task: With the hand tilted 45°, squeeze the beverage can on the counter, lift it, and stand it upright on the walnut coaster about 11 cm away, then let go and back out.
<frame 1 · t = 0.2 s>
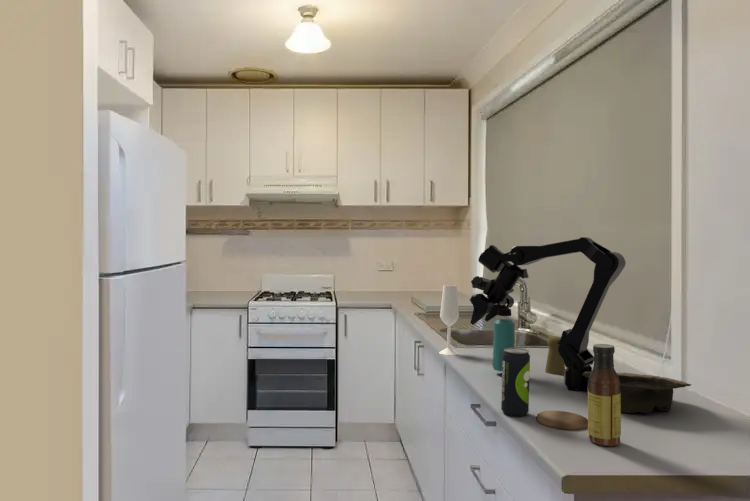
hand: (478, 322, 177), 15 cm above the countertop, tool tilted 35°, fingers open, 9 cm apart
cork: (555, 372, 176), on the countertop
sauce bottle: (603, 443, 116), on the countertop
beverage can: (514, 414, 134), on the countertop
beverage bottle: (503, 374, 172), on the countertop
champagne flute: (448, 353, 202), on the countertop
stone bowl: (632, 405, 143), on the countertop
walnut coaster: (562, 421, 128), on the countertop
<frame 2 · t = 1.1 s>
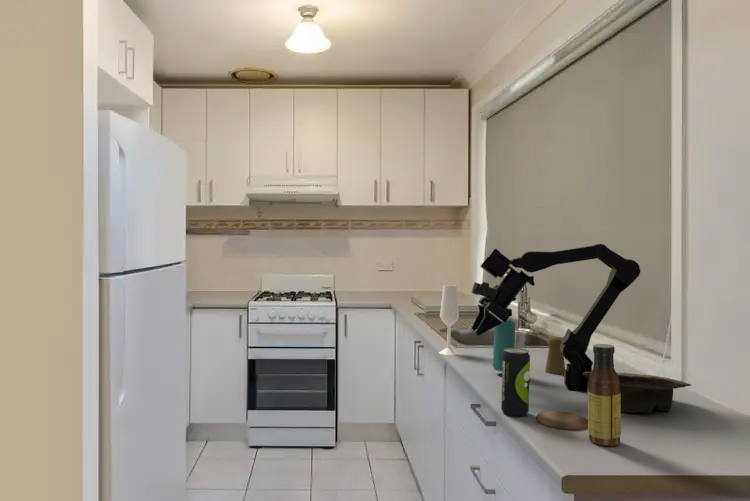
hand: (474, 332, 161), 14 cm above the countertop, tool tilted 35°, fingers open, 9 cm apart
nothing on the countertop moved.
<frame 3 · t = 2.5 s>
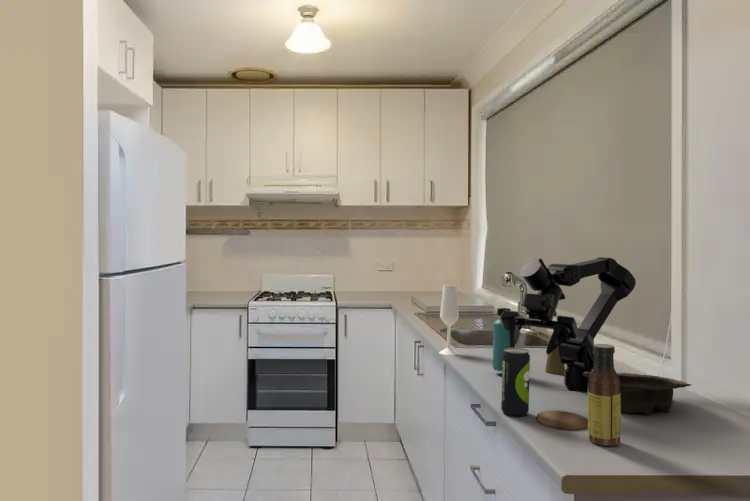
hand: (528, 350, 140), 14 cm above the countertop, tool tilted 45°, fingers open, 9 cm apart
nothing on the countertop moved.
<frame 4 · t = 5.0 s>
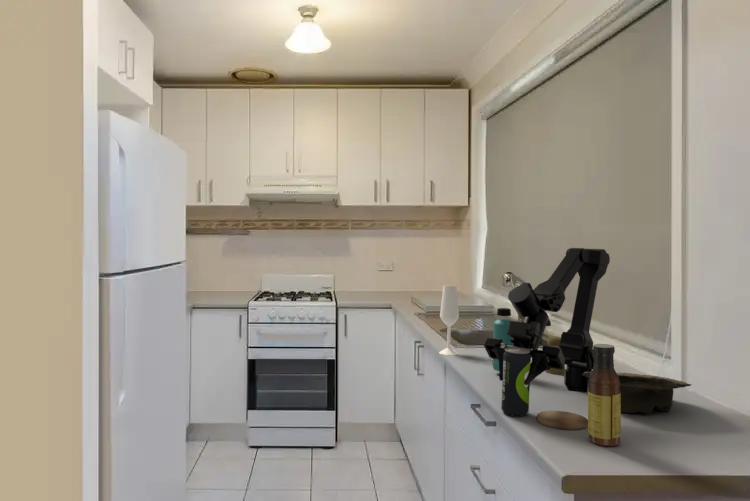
hand: (512, 382, 133), 8 cm above the countertop, tool tilted 45°, fingers closed on beverage can, 6 cm apart
beverage can: (514, 413, 134), on the countertop, touching gripper
everything else where it was.
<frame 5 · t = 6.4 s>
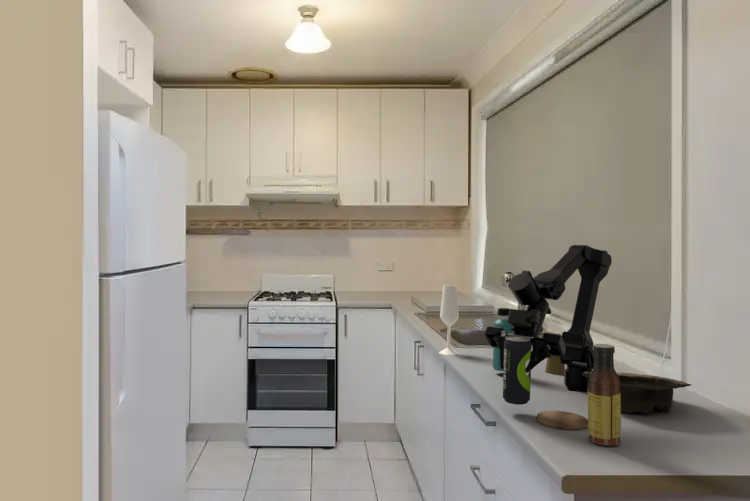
hand: (513, 369, 133), 10 cm above the countertop, tool tilted 45°, fingers closed on beverage can, 6 cm apart
beverage can: (516, 402, 134), point 3 cm above the countertop, touching gripper
everything else where it was.
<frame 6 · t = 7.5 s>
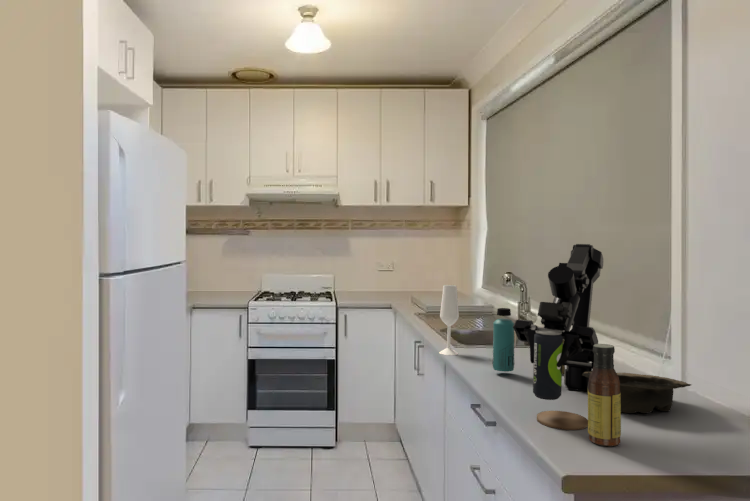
hand: (544, 364, 129), 13 cm above the countertop, tool tilted 45°, fingers closed on beverage can, 6 cm apart
beverage can: (546, 397, 130), point 5 cm above the countertop, touching gripper
everything else where it was.
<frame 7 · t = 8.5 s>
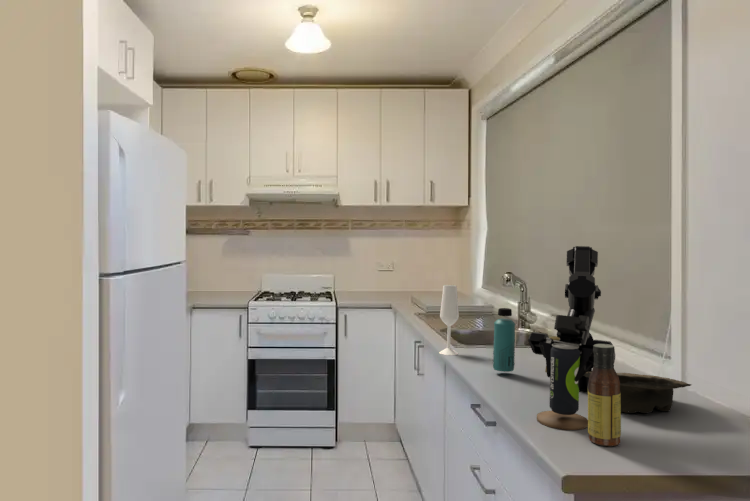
hand: (561, 378, 127), 10 cm above the countertop, tool tilted 45°, fingers closed on beverage can, 6 cm apart
beverage can: (563, 412, 129), point 2 cm above the countertop, touching gripper
everything else where it was.
when the fingers open (9 cm above the countertop, at t = 9.1 s): beverage can stays where it is, resting on walnut coaster.
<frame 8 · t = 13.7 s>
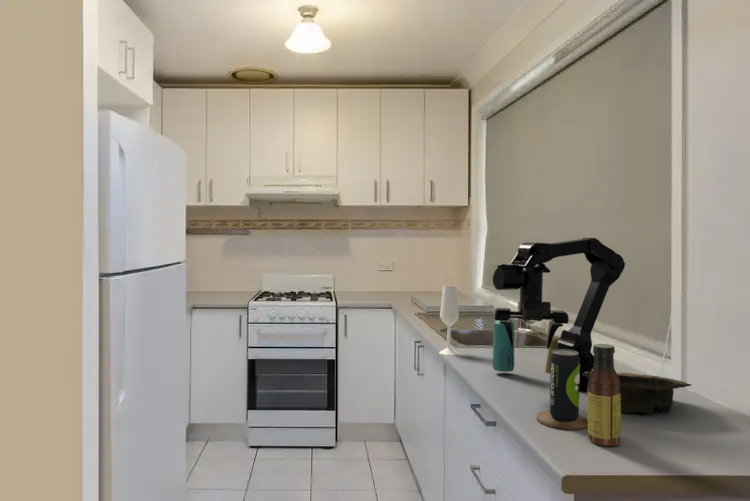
hand: (529, 347, 152), 12 cm above the countertop, tool pointing down, fingers open, 9 cm apart
beverage can: (564, 418, 129), point 1 cm above the countertop, touching walnut coaster
everything else where it was.
at the end: beverage can inside the target area on the walnut coaster (0.5 cm from its centre), point 0.6 cm above the walnut coaster's base; beverage can tilted 1°; the gripper is holding nothing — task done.
